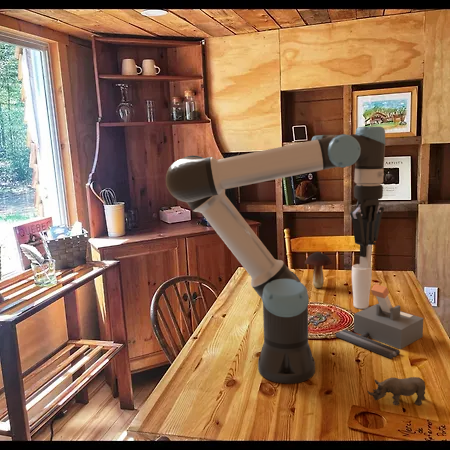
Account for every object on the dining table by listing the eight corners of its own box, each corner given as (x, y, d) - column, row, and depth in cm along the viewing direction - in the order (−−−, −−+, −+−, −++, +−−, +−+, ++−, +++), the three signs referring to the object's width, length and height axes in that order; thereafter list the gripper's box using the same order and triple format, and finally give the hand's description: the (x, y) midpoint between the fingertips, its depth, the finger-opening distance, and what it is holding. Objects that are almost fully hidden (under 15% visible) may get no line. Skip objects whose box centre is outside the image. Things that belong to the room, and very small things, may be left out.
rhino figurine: (364, 397, 105) (364, 374, 104) (422, 395, 105) (423, 372, 104) (369, 407, 101) (370, 383, 100) (430, 405, 101) (431, 381, 100)
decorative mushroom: (299, 286, 184) (299, 251, 181) (321, 281, 189) (321, 247, 186) (315, 294, 174) (315, 257, 171) (338, 289, 179) (338, 253, 176)
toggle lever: (393, 318, 134) (382, 292, 129) (381, 314, 137) (370, 289, 132) (397, 312, 135) (386, 287, 130) (385, 308, 138) (374, 284, 133)
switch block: (400, 349, 127) (401, 318, 125) (353, 331, 140) (354, 303, 138) (422, 336, 134) (423, 307, 133) (376, 321, 147) (376, 293, 145)
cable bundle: (391, 359, 122) (391, 355, 121) (334, 336, 137) (334, 332, 137) (407, 350, 126) (407, 346, 126) (350, 329, 142) (350, 325, 141)
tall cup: (368, 303, 163) (369, 263, 160) (372, 310, 156) (373, 269, 153) (349, 303, 163) (350, 264, 160) (353, 310, 157) (353, 269, 154)
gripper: (366, 187, 115) (363, 274, 119) (394, 183, 123) (389, 265, 127) (342, 185, 120) (340, 268, 125) (370, 181, 128) (366, 260, 133)
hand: (365, 267), depth 126 cm, fingers closed
